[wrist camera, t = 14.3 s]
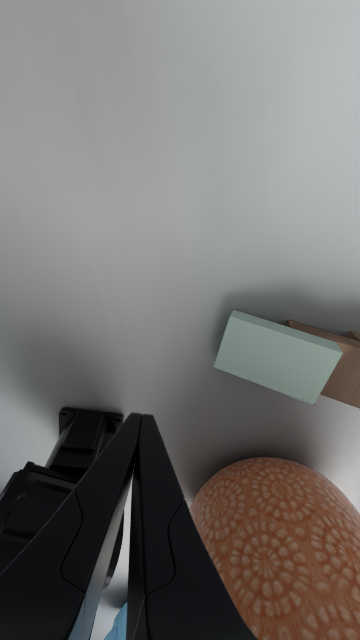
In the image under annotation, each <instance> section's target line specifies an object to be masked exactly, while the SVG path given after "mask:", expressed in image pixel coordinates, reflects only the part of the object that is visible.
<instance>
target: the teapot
mask: <svg viewBox="0 0 360 640" xmlns="http://www.w3.org/2000/svg"><path fill="white" fill-rule="evenodd" d="M126 622H127V602H126V603H125V604H124V606H123V607H122V608H121V610H120V611H119V613H118V614H117V616H116V618H115V620H114V624H113V628H112V630H111V631H110V632H109V633H108V634H107V636H106V637H105V639H104V640H126Z"/></svg>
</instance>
